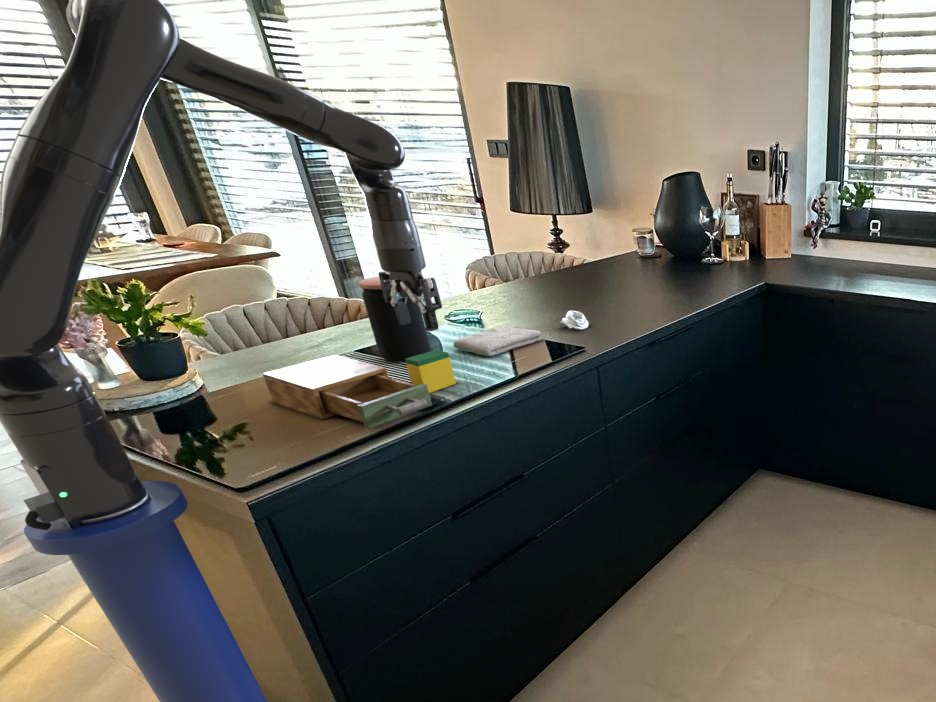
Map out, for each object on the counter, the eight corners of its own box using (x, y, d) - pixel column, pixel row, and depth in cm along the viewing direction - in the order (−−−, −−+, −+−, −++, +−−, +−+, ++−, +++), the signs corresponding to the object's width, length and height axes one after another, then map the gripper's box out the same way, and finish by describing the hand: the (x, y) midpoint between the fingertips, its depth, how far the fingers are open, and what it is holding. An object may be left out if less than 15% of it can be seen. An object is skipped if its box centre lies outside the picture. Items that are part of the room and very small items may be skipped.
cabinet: (393, 395, 127) (385, 367, 125) (323, 419, 116) (312, 389, 114) (344, 381, 134) (335, 354, 131) (273, 402, 123) (262, 373, 120)
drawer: (448, 409, 119) (443, 389, 117) (385, 434, 109) (378, 411, 108) (382, 390, 127) (376, 370, 125) (317, 411, 117) (310, 390, 115)
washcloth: (545, 339, 163) (543, 328, 162) (489, 359, 149) (486, 346, 147) (511, 333, 168) (509, 322, 166) (453, 351, 153) (451, 339, 152)
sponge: (426, 394, 128) (417, 361, 125) (413, 390, 130) (404, 358, 127) (456, 383, 134) (448, 352, 131) (443, 380, 136) (435, 349, 132)
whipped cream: (577, 325, 179) (574, 308, 177) (595, 326, 176) (593, 309, 175) (556, 330, 172) (553, 312, 171) (575, 331, 170) (572, 313, 168)
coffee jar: (442, 351, 153) (423, 277, 145) (407, 365, 144) (386, 286, 136) (406, 347, 155) (385, 274, 147) (369, 360, 146) (346, 283, 138)
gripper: (355, 242, 119) (378, 326, 126) (403, 249, 113) (424, 336, 120) (393, 238, 125) (413, 318, 132) (440, 244, 119) (459, 328, 126)
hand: (419, 327), depth 126 cm, fingers open, 8 cm apart
